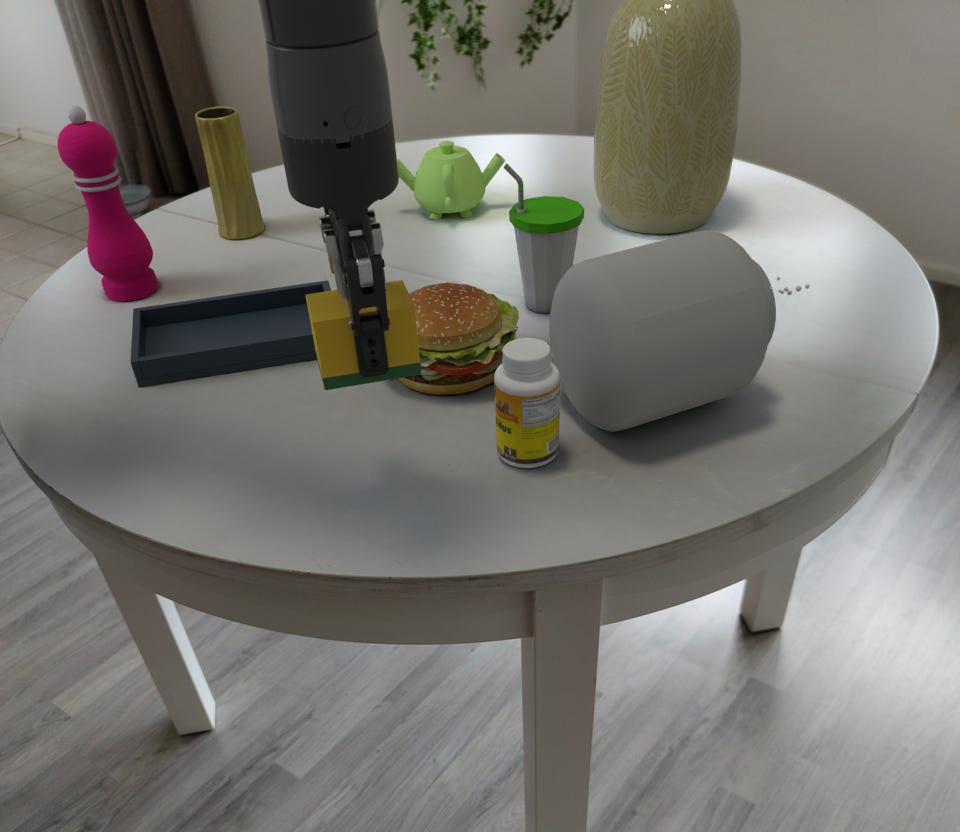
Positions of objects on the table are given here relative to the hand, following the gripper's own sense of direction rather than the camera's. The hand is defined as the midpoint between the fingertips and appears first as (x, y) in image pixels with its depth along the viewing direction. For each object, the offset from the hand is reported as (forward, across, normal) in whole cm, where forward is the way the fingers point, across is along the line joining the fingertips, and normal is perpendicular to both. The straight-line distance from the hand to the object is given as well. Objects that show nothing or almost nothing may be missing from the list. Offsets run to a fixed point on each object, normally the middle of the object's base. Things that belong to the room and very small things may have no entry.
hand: (368, 356), depth 73 cm
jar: (+13, -8, +30) cm, 34 cm away
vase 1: (+13, -64, -9) cm, 65 cm away
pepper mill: (+13, -50, -23) cm, 56 cm away
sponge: (+1, 0, 0) cm, 1 cm away
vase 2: (+13, -49, +44) cm, 68 cm away
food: (+13, -18, +10) cm, 25 cm away
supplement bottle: (+13, -2, +13) cm, 18 cm away
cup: (+13, -30, +23) cm, 40 cm away
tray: (+12, -32, -11) cm, 36 cm away
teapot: (+13, -62, +19) cm, 66 cm away
